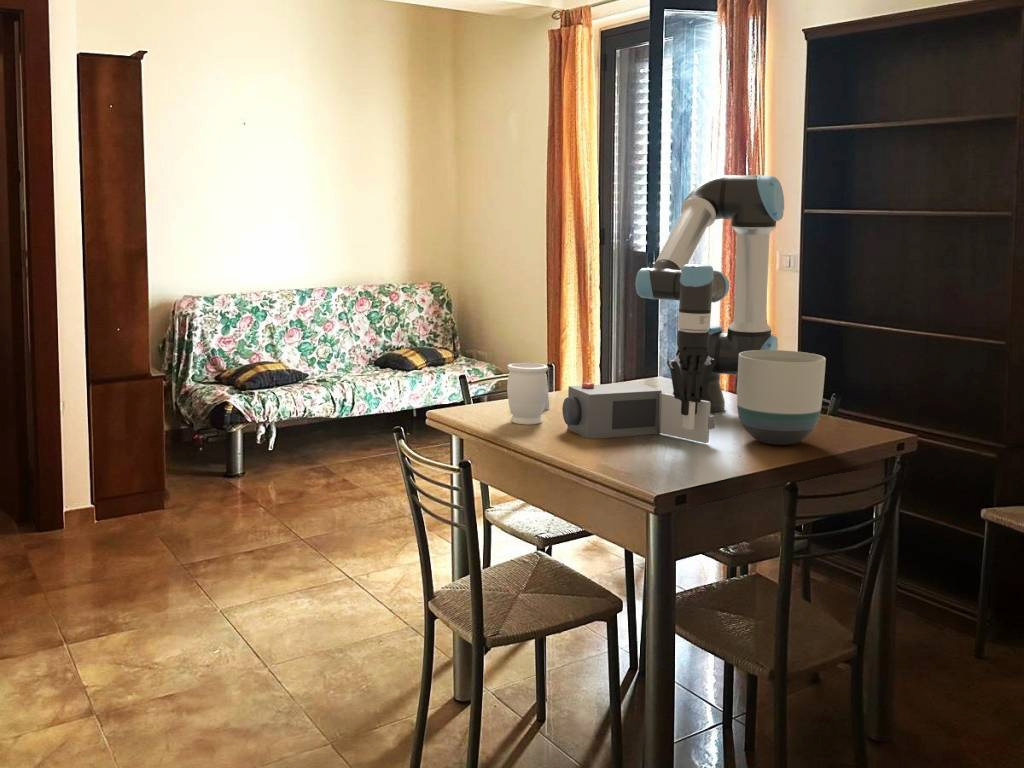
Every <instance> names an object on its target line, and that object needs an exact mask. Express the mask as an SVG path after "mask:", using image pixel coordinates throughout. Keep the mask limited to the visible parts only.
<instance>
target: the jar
mask: <svg viewBox="0 0 1024 768" xmlns="http://www.w3.org/2000/svg"><path fill="white" fill-rule="evenodd" d="M507 369H508V371H509V372H508V373H509V374H508V377H507V382H506V383H507V384H506V385H507V387H506V388H507V390H506V391H507V392H506V394H507V399H508V406H509V411H510V413H511V414H512V415H511V418H510V422H511V423H513V424H516V425H517V424H518V425H524V426H525V425H526V426H530V425H531V426H532V425H538V424H539V425H540V424H542V423H543V421H544V420H543V418H542V415H543V412H544V411H545V410H544V408H545V402H546V397H547V390H548V391H549V388H548V385H549V384H548V377H547V374H546V373H547V371H548V370H549V368H548V365H546V364H541V363H537V362H514V363H509V364H507Z"/></svg>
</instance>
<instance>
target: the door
mask: <svg viewBox="0 0 1024 768" xmlns="http://www.w3.org/2000/svg"><path fill="white" fill-rule="evenodd" d="M672 394H673V393H672ZM672 394H670V393H665V392H662V393H660V397H659V420H658V433H660V434H662V435H667V436H671V437H675V438H680V439H685V440H690V441H693V442H699V443H702V444H703V443H704V444H707V443H709V440H710V430H712V429H715V422H716V420H715V419H716V416H715V415H714V414H713V415H711V413H710V405H711V402H709V401H704V400H701V401H700V402H698V404H697V414H696V415H695V417H694V429H690V430H689V429H686V428H683V427H682V424H683V415H682V414H681V400H679V399H676V398H675V397H674V395H672Z"/></svg>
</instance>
